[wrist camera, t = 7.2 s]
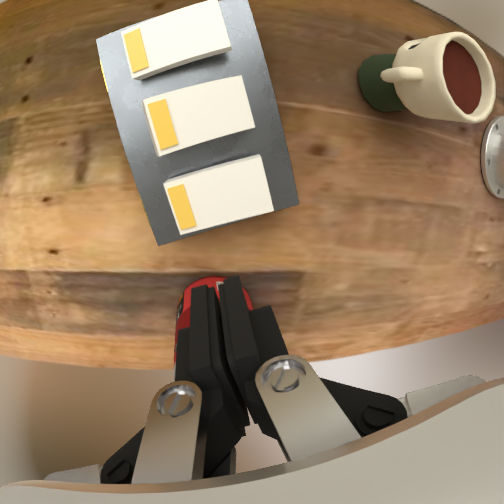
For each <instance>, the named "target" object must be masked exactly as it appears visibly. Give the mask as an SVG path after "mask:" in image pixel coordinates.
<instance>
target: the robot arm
mask: <svg viewBox="0 0 504 504" xmlns="http://www.w3.org/2000/svg"><path fill="white" fill-rule="evenodd" d="M481 167H482V174H483V178H484V181H485V184H486V187H487V188H488V190H489V191H490V193H491V194H492V195H494V196H496V197H498V198H501V199H504V116H497V117H495V118H494V119H493V120H492V121H491V122H490V123H489V125H488V127H487V129H486V131H485V134H484V137H483V142H482V148H481ZM223 283H224V284H220V285H218V288H219V298H220V302H219V299H218V296H217V293H216V290H215V288H214V286H213V287H210V288H209V287H208V285H207V284H205V285H201V286H198V287H194V288H191V304H190V327H186V328H182V329H179V330H178V336H177V350H176V366H175V382H172V383H170V384H167V385H165V386H164V387H163V388H161V389H160V390H159V391H158V392H157V393H156V395H155V396H154V398H153V400H152V403H151V406H150V410H149V414H148V418H147V422H146V426H145V427H144V428H143V429H141V430H140V431H139V432H138V433H137V434H136V435H135V436H134V437H133V438H132V439H131V440H129V441H128V442H127V443H126V444H125V445H124V446H123V447H122V448H120V449H119V450H118V451H117V452H116V453H115V454H114V455H113V456H111V457H110V458H109V459H108V460H107V461H106V463H105V464H104V466H102V467H101V466H100V465H99V464H96V465H92V466H87V467H82V468H77V469H72V470H67V471H61V472H56V473H52V474H50V475H48V476H47V477H46V478H45V479H44V480H28V481H20V482H13V483H10V484H6V485H3V486H0V504H504V378H500V379H495V380H492V381H489V382H485V381H484V380H483V379H481V378H480V377H478V376H472V375H469V376H463V377H460V378H457V379H454V380H451V381H448V382H445V383H441V384H438V385H435V386H431V387H428V388H424V389H421V390H417V391H413V392H409V393H406V396H405V397H403V398H399V399H396V398H394V397H391V396H389V395H385V394H381V393H376V392H372V391H368V390H364V389H360V388H356V387H352V386H349V385H345V384H341V383H337V382H334V381H330V380H327V379H323V378H320V377H318V375H317V374H316V372H315V371H314V370H313V368H312V367H311V365H310V364H309V363H308V362H307V361H306V360H305V359H303V358H301V357H299V356H295V355H289V354H288V351H287V348H286V346H285V343H284V340H283V338H282V335H281V332H280V330H279V327H278V324H277V321H276V319H275V316H274V313H273V311H272V308H271V305H268V306H264V307H261V308H257V309H254V310H250V311H249V309H248V305H247V302H246V299H245V295H244V292H243V289H242V285H241V282H240V279H239V276H238V275H237V276H234V277H230V278H226V279H223ZM247 408H248V410H249V412H250V415H251V417H252V419H253V421H254V423H255V424H257V423H258V425H259V427H260V429H261V431H262V433H263V434H265V435H267V436H270V437H272V438H274V439H276V440H277V441H278V443H279V445H280V447H281V449H282V452H283V454H284V456H285V458H286V460H287V463H282V464H279V465H275V466H270V467H266V468H262V469H258V470H253V471H248V472H243V473H237V474H236V449H235V447H234V446H235V445H236V444H237V443H238V441H239V440H240V439H241V437H243V436H246V433H245V426H249V425H250V422H249V416H248V410H247Z"/></svg>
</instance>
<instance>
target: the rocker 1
mask: <svg viewBox="0 0 504 504" xmlns="http://www.w3.org/2000/svg"><path fill="white" fill-rule="evenodd" d="M121 35H122V39H123V43H124V48H125V52H126V56H127V60H128V64H129V68H130V72H131V76H132V79H135V80H142V79H145V78H147V77H150V76H152V75H155V74H158V73H160V72H163V71H166V70H169V69H172V68H175V67H178V66H181V65H184V64H187V63H190V62H193V61H196V60H200V59H203V58H207V57H210V56H214V55H217V54H221V53H225V52H229V51H232V48H231V44H230V40H229V37H228V33H227V30H226V27H225V23H224V20H223V16H222V13H221V9H220V6H219V3H218V0H208V1H205V2H201V3H198V4H194V5H191V6H188V7H185V8H181V9H178V10H175V11H172V12H169V13H167V14H164V15H161V16H158V17H156V18H153V19H150V20H148V21H145V22H143V23H140V24H138V25H136V26H133V27H131V28H129V29H126V30H124V31H122V32H121Z"/></svg>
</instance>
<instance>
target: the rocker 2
mask: <svg viewBox="0 0 504 504" xmlns="http://www.w3.org/2000/svg"><path fill="white" fill-rule="evenodd" d="M141 104H142V107H143V111H144V115H145V118H146V122H147V125H148V128H149V132H150V135H151V139H152V142H153V145H154V149H155V152H156V155H157V156H159V157H160V156H162V155H165V154H168V153H171V152H174V151H177V150H180V149H183V148H186V147H189V146H192V145H195V144H198V143H202V142H205V141H208V140H212V139H215V138H218V137H222V136H225V135H229V134H232V133H236V132H240V131H243V130H247V129H251V128H255V124H254V120H253V117H252V113H251V109H250V105H249V101H248V97H247V94H246V90H245V86H244V83H243V79H242V75H240V76H234V77H229V78H224V79H219V80H215V81H210V82H206V83H202V84H197V85H193V86H189V87H185V88H182V89H178V90H174V91H171V92H167V93H163V94H160V95H157V96H153V97H150V98H147V99H144V100H143V101H142V103H141Z"/></svg>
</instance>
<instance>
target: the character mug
mask: <svg viewBox="0 0 504 504" xmlns="http://www.w3.org/2000/svg"><path fill="white" fill-rule="evenodd" d="M358 73H359V84H360V87H361V90H362V93H363V95H364V97H365V98H366V100H367V101H368V102H369V103H370V105H371V106H372V107H374V108H376V109H378V110H380V111H382V112H391V111H400V110H406V109H409V110H410V111H411V112H412V113H414V114H415V115H418V116H422V117H426V118H430V119H440V120H449V121H458V122H466V123H475V124H476V123H479V122H481V121H484V120H486V118H487V117H488V116H489V114H490V113H491V112H492V109H493V106H494V102H495V98H496V93H495V79H494V75H493V71H492V68H491V65H490V63H489V61H488V59H487V57H486V55H485V53H484V51H483V50H482V49H481V47H480V46H479V45H478V44H477V43H476V41H475V40H474V39H472V38H471V37H469V36H468V35H466V34H464V33H462V32H451V33H445V34H440V35H436V36H430V37H429V38H423V39H418V40H413V41H408V42H406V43H405V44H403V45H402V46H401V47H400V48H399V49H398V52H397V54H382V55H374V56H371V57H369V58H368V59H366V60H364V61H363V63H362V65H361V67H360V69H359V71H358Z"/></svg>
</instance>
